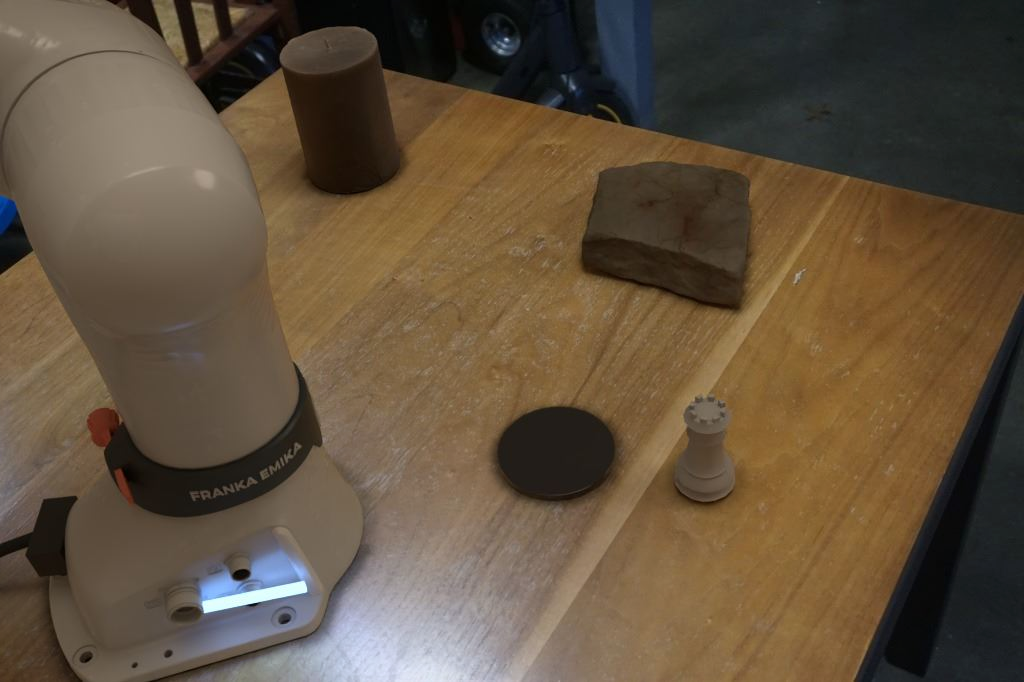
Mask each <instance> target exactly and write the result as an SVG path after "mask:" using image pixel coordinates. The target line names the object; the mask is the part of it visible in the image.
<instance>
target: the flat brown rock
mask: <svg viewBox="0 0 1024 682" xmlns="http://www.w3.org/2000/svg"><path fill="white" fill-rule="evenodd" d="M750 187H751V180H750V179H749V178H748V177H747V176H746V175H745V174H744V173H741V172H738V171H734V170H732V169H726V168H719V167H716V166H711V165H706V164H692V163H691V164H689V163H679V162H675V161H671V160H670V161H669V160H668V161H665V160H655V161H644V162H640V163H636V164H634V165H623V166H615V167H608V168H605V169H603V170H602V171H600V172H598V179H597V184H596V190H595V192H594V194H593V196H592V205H591V208H590V210H589V215H588V219H587V224H586V229H585V234H584V235H583V237H582V240H581V258H582V260H583V262H584V263H585V264H586V265H587V266H589V267H592V268H595V269H597V270H599V271H601V272H605V273H607V274H611V275H613V276H615V277H619V278H621V279H631V280H635V281H637V282H639V283H642V284H646V285H655V286H658V287H660V288H664V289H666V290H669V291H672V292H674V293H676V294H679V295H682V296H685V297H688V298H692V299H695V300H697V301H699V302H709V303H715V304H720V305H721V304H722V305H730V306H734V305H737V304H739V303H741V302H742V301H743V297H742V296H743V293H742V291H743V283H744V276H745V271H746V270H745V269H746V262H747V261H746V260H747V255H748V253H747V251H748V249H749V248H748V247H749V246H748V242H749V235H750V231H751V228H750V225H751V217H752V214H753V213H752V211H751V210H750V209H749V208H748V207H749V202H750V201H749V200H750V199H749V198H750V191H751V189H750Z"/></svg>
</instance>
